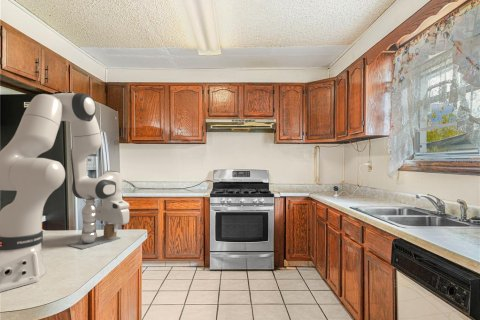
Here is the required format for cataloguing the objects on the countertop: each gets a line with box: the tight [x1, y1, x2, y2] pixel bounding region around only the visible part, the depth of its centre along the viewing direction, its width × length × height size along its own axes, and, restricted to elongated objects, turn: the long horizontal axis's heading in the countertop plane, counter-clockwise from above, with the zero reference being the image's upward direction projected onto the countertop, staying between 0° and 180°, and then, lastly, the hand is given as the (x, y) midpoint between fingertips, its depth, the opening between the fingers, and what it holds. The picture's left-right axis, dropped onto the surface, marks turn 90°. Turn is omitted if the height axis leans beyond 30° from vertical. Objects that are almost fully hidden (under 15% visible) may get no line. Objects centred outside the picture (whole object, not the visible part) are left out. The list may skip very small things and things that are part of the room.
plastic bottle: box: [80, 198, 98, 243], centre depth 128 cm, size 6×7×20 cm
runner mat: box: [67, 223, 121, 250], centre depth 131 cm, size 20×10×6 cm, turn 154°
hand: (111, 231), depth 139 cm, fingers open, 3 cm apart
